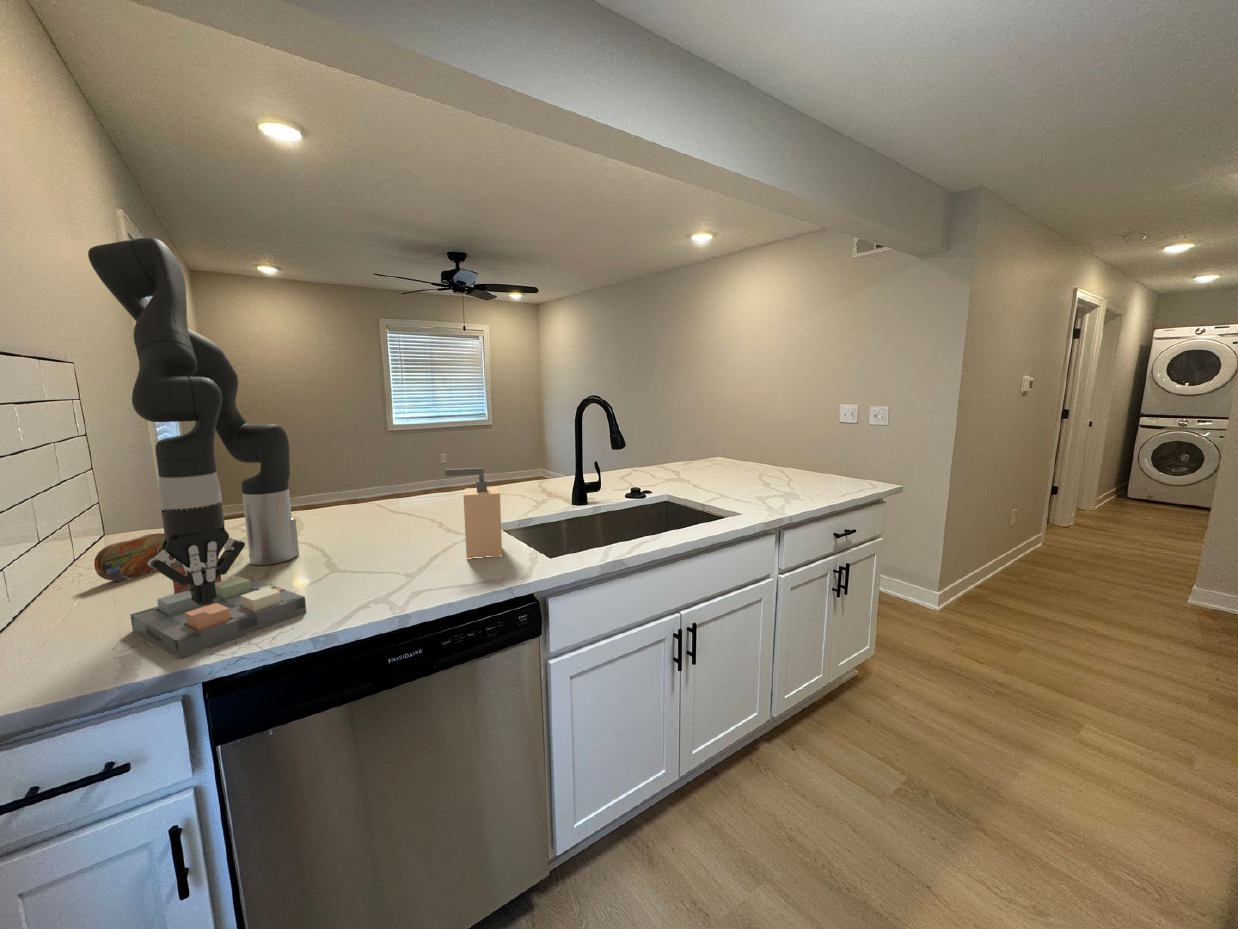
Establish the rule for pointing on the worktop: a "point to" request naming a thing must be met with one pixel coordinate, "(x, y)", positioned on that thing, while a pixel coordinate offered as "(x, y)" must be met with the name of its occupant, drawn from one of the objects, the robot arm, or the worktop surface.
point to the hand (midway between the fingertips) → (204, 603)
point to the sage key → (232, 587)
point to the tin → (128, 557)
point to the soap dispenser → (481, 516)
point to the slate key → (176, 603)
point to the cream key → (260, 599)
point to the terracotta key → (207, 616)
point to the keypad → (187, 641)
